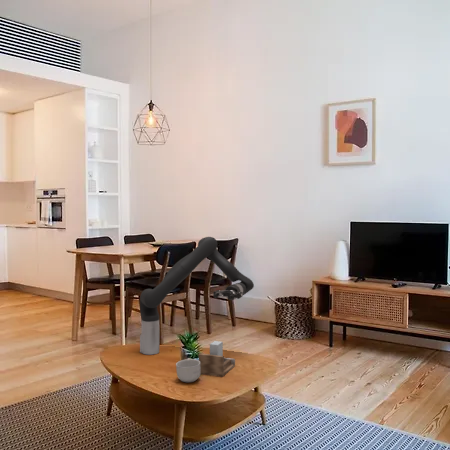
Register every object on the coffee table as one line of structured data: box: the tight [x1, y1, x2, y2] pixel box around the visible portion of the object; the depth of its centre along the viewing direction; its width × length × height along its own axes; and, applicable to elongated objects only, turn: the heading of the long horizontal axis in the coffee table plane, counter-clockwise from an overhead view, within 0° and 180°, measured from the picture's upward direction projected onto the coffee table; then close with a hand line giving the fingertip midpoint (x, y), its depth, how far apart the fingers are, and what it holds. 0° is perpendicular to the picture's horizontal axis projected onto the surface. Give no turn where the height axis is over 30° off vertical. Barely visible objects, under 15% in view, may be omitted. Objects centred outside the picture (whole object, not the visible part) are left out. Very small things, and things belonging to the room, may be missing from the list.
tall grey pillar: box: [209, 340, 224, 356], centre depth 230 cm, size 4×6×12 cm, turn 158°
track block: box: [198, 353, 236, 378], centre depth 231 cm, size 12×16×9 cm
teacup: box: [175, 357, 201, 383], centre depth 219 cm, size 14×11×8 cm
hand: (222, 296), depth 244 cm, fingers open, 8 cm apart
